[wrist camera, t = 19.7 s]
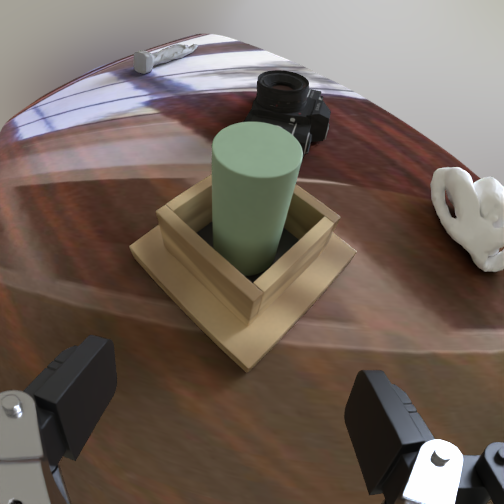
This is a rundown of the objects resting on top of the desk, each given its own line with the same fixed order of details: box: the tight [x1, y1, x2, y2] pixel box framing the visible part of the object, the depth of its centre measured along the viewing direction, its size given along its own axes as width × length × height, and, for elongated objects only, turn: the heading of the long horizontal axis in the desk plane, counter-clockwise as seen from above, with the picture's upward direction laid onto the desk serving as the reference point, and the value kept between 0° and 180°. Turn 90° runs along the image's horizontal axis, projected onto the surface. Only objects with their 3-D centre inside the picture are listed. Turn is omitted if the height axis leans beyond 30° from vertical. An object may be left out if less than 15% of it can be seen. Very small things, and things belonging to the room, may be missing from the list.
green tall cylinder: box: [212, 122, 303, 276], centre depth 18 cm, size 4×4×9 cm
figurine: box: [134, 44, 197, 74], centre depth 41 cm, size 4×12×4 cm, turn 143°
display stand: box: [129, 174, 357, 373], centre depth 21 cm, size 12×12×6 cm
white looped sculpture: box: [430, 167, 504, 272], centre depth 25 cm, size 9×12×8 cm
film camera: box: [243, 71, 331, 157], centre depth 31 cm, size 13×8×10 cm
